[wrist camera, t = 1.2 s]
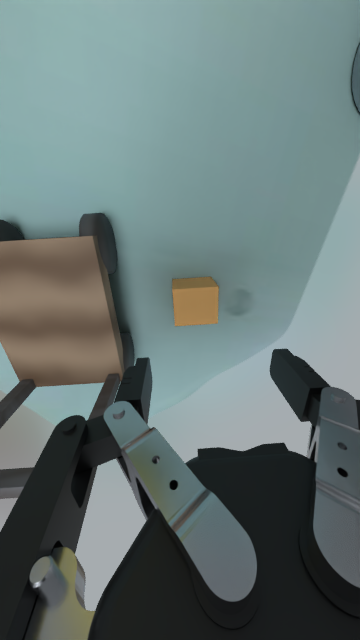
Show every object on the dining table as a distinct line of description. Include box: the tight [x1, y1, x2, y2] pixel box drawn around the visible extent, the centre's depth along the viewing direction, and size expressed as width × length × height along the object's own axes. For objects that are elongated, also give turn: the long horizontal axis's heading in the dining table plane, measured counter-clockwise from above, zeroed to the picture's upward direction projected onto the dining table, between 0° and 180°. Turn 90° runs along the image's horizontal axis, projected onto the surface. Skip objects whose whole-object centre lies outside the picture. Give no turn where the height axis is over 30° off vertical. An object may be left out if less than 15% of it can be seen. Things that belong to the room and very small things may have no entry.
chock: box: [172, 277, 219, 326], centre depth 25 cm, size 5×4×5 cm
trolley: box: [0, 213, 134, 499], centre depth 19 cm, size 20×12×18 cm, turn 3°
